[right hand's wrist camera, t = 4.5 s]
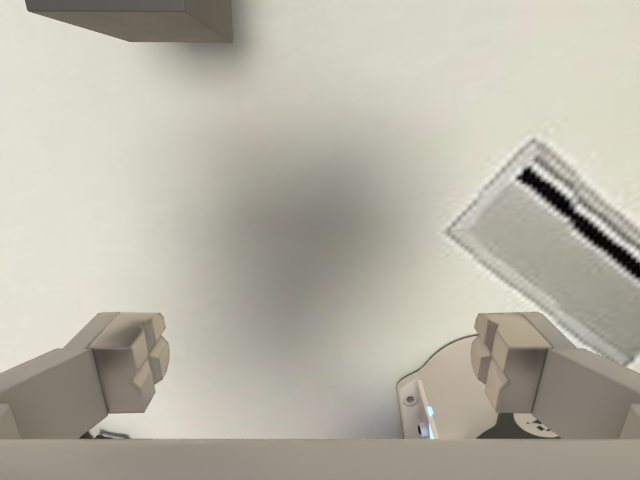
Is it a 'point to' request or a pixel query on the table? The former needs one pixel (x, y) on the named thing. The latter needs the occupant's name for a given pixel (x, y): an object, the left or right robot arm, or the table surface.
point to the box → (144, 18)
